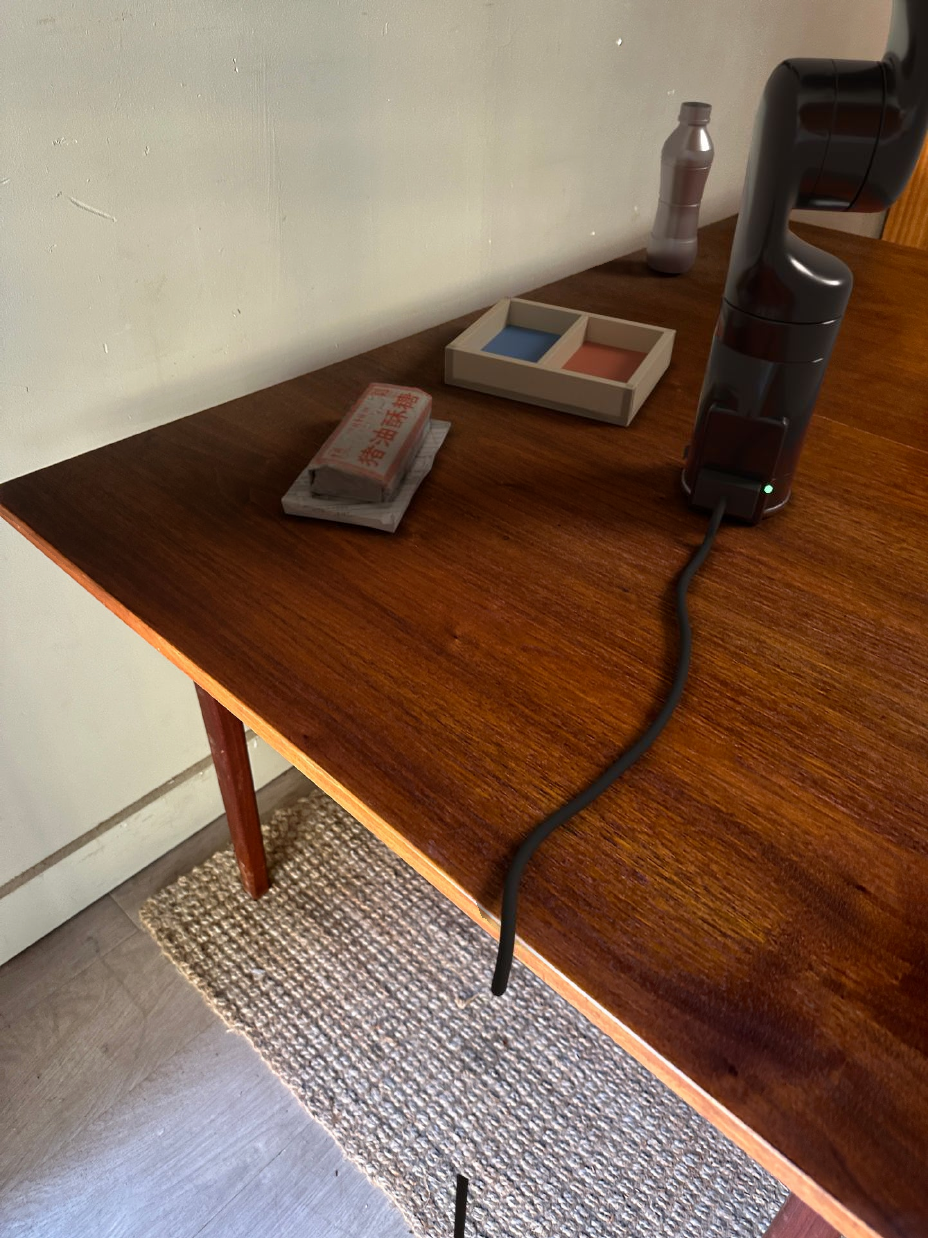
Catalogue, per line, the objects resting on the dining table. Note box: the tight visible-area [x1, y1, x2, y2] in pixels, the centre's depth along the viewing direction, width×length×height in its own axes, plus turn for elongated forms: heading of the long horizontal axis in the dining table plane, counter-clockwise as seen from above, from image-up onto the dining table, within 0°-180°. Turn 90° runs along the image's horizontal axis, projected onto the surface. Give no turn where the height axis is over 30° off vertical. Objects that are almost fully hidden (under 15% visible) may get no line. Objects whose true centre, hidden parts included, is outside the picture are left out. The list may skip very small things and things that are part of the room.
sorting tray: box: [444, 295, 677, 427], centre depth 97 cm, size 16×20×4 cm
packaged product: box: [280, 382, 452, 533], centre depth 80 cm, size 18×5×10 cm
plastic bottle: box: [645, 101, 715, 274], centre depth 117 cm, size 6×7×20 cm
